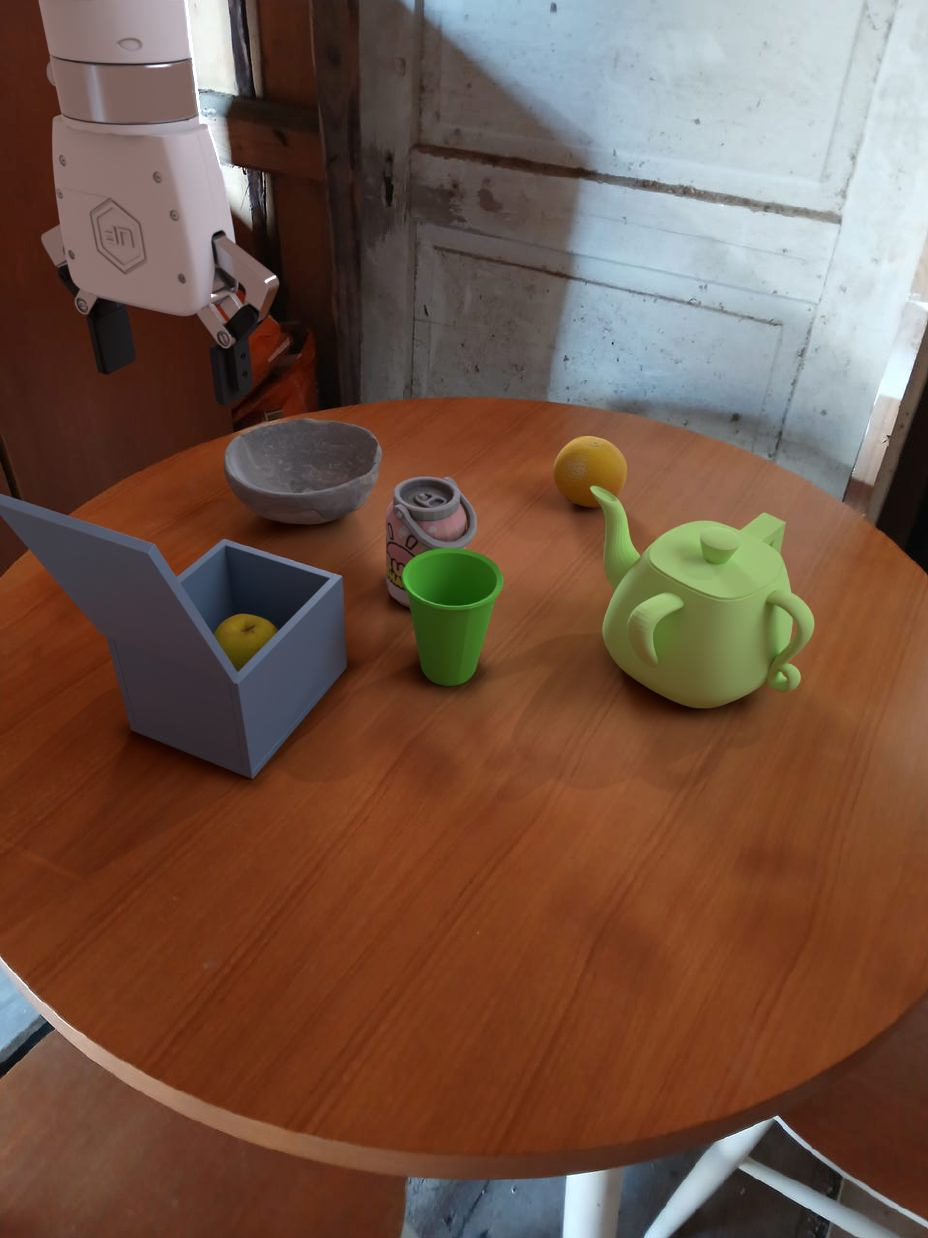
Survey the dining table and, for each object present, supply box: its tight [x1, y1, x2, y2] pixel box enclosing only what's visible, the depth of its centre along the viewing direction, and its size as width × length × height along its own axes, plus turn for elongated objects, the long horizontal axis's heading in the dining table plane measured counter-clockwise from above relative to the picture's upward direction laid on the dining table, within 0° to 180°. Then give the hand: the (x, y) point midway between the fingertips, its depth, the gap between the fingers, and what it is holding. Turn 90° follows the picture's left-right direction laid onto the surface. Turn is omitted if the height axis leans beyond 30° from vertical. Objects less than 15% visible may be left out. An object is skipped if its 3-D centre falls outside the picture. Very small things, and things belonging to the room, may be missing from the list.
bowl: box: [222, 418, 383, 526], centre depth 105 cm, size 18×18×8 cm
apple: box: [214, 614, 278, 673], centre depth 80 cm, size 6×6×8 cm
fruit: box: [552, 435, 628, 508], centre depth 109 cm, size 9×8×8 cm
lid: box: [0, 493, 239, 684], centre depth 63 cm, size 16×13×1 cm
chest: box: [105, 538, 348, 780], centre depth 79 cm, size 16×13×11 cm
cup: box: [401, 548, 505, 687], centre depth 83 cm, size 9×9×11 cm
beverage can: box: [385, 476, 478, 609], centre depth 92 cm, size 9×8×12 cm
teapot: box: [590, 486, 815, 709], centre depth 85 cm, size 19×20×14 cm
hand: (175, 382), depth 61 cm, fingers open, 9 cm apart
